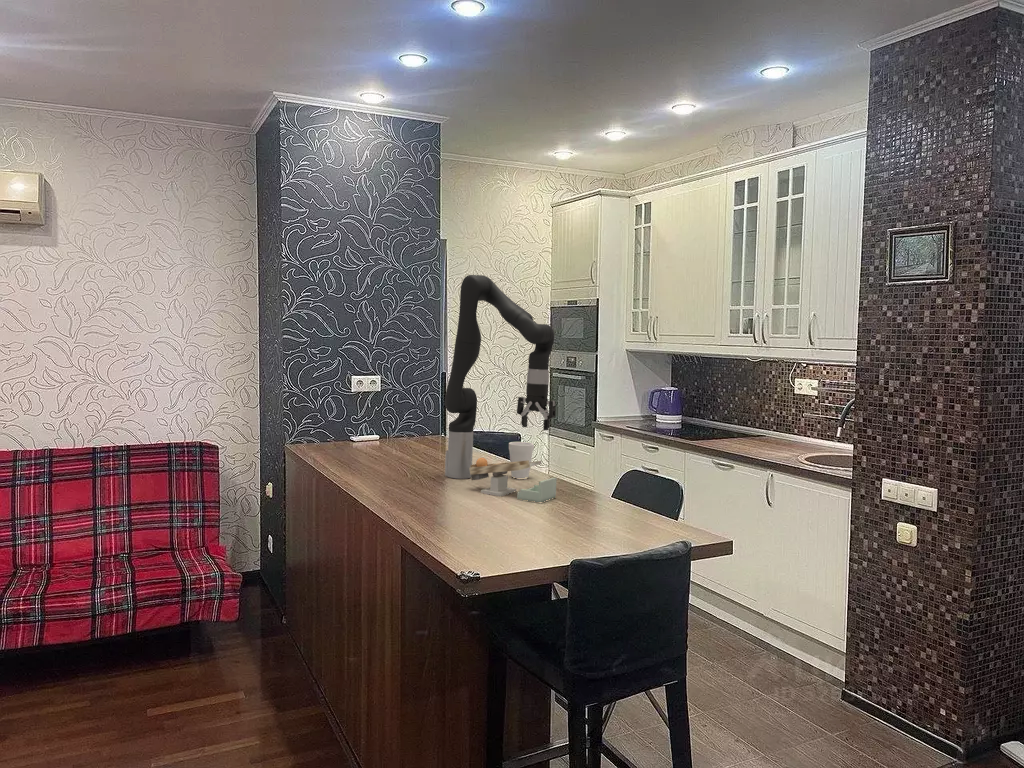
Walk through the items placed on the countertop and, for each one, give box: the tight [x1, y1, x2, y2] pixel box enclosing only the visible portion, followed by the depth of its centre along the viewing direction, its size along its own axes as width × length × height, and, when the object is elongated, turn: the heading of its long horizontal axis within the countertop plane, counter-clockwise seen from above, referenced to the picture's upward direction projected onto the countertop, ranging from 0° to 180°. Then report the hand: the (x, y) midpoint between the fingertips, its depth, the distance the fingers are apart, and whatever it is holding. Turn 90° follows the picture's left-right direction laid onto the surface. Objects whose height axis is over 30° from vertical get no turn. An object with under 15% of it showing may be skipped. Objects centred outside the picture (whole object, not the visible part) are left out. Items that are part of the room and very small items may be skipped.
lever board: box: [469, 460, 542, 481], centre depth 273 cm, size 20×15×5 cm
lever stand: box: [480, 474, 517, 497], centre depth 270 cm, size 8×10×6 cm
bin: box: [516, 477, 557, 503], centre depth 262 cm, size 9×10×7 cm
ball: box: [475, 457, 489, 467], centre depth 273 cm, size 4×4×4 cm
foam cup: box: [508, 441, 535, 478], centre depth 296 cm, size 10×9×13 cm
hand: (535, 428), depth 273 cm, fingers open, 8 cm apart
